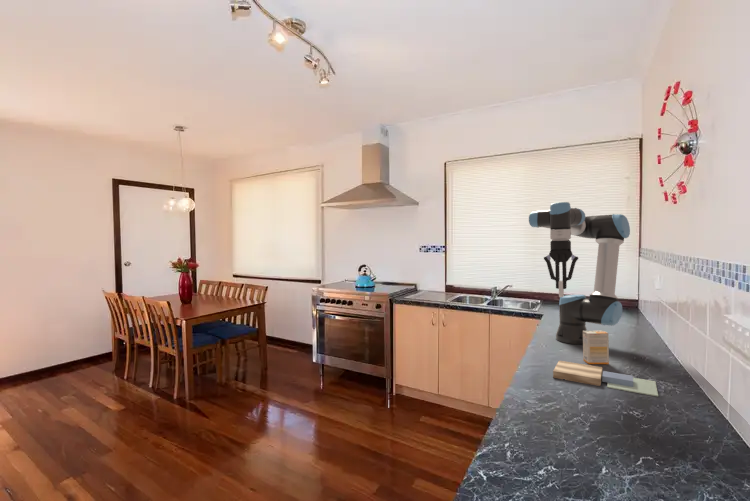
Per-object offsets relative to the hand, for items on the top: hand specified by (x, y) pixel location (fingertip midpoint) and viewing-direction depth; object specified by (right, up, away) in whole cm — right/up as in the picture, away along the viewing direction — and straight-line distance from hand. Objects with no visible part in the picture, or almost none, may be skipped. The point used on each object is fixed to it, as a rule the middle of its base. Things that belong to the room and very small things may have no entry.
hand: (561, 296), depth 149 cm
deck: (0, -28, -13) cm, 31 cm away
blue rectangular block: (+10, -28, -20) cm, 36 cm away
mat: (+13, -28, -23) cm, 38 cm away
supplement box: (+15, -28, +1) cm, 32 cm away
